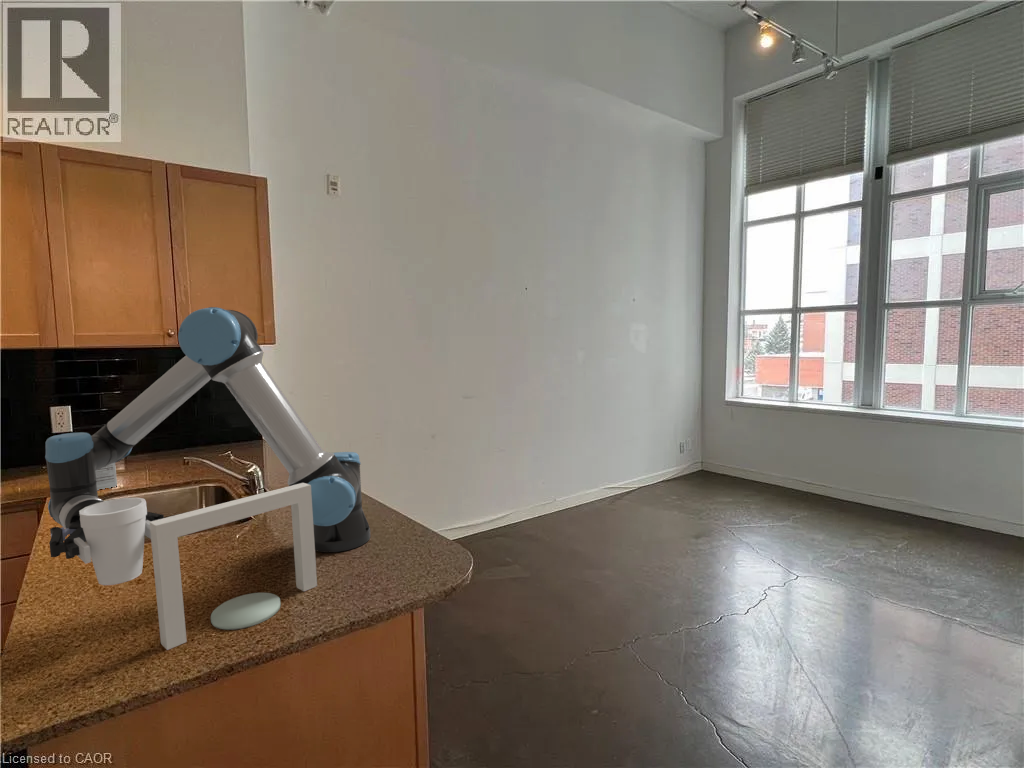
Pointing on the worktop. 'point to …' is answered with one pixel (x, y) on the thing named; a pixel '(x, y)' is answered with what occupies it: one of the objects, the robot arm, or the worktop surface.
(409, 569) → the worktop surface
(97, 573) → the foam cup
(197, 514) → the keeper arch
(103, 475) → the supplement box
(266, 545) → the worktop surface
